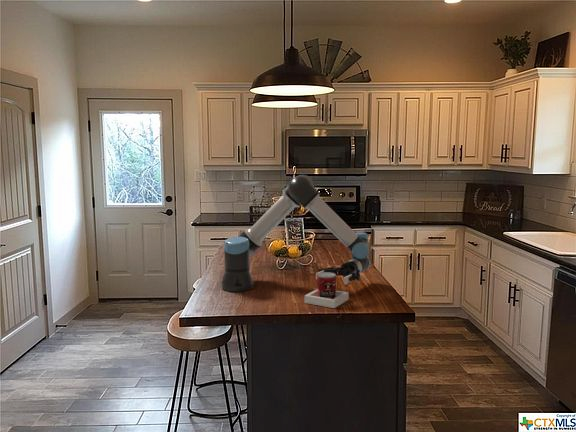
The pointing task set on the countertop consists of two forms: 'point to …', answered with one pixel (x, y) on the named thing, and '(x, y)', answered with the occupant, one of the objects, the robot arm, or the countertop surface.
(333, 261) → the countertop surface
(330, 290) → the canned food
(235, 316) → the countertop surface
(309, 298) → the tray
